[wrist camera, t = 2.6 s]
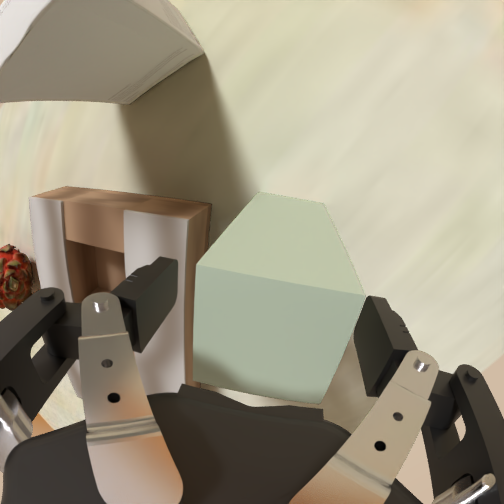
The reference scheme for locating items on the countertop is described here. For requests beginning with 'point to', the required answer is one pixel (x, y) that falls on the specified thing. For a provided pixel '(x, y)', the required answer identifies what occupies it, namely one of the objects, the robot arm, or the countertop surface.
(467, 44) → the countertop surface
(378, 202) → the countertop surface
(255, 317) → the square peg
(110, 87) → the skincare box
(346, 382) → the countertop surface
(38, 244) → the block
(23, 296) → the dragon fruit
